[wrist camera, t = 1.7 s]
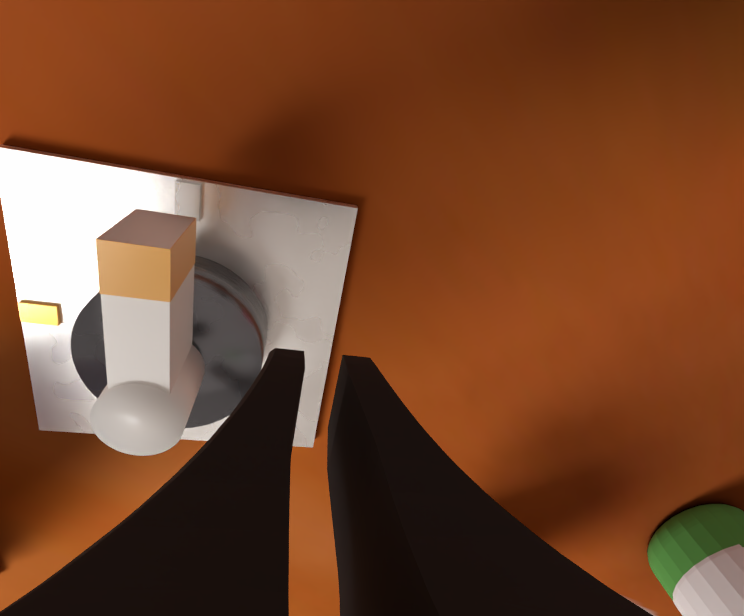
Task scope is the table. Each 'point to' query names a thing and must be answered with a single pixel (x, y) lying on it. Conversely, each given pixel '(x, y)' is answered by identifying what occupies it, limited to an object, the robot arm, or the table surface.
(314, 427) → the post base
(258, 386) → the robot arm
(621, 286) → the table surface
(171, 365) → the lever handle
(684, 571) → the wine bottle
